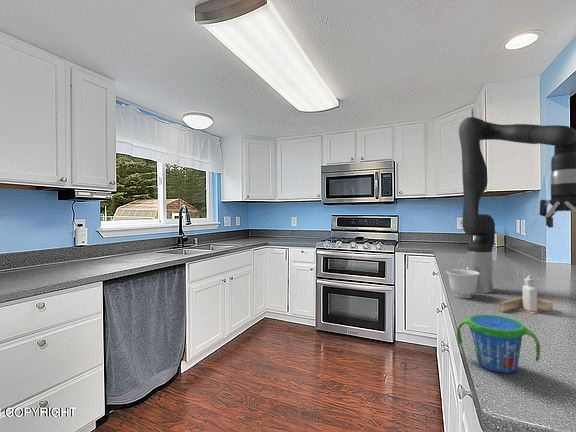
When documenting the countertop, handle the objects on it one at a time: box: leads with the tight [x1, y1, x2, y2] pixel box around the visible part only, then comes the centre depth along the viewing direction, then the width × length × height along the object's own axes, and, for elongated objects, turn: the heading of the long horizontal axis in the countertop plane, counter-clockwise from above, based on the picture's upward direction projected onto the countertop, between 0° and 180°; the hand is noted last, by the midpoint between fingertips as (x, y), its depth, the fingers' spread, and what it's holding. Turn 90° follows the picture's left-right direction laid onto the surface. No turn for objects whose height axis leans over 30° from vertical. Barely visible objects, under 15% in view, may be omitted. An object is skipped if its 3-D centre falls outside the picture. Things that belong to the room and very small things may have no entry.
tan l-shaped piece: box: [498, 295, 554, 315], centre depth 104 cm, size 9×16×3 cm, turn 117°
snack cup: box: [456, 314, 541, 374], centre depth 69 cm, size 16×10×10 cm
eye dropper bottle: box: [521, 274, 538, 312], centre depth 105 cm, size 4×6×12 cm
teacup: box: [445, 268, 480, 299], centre depth 125 cm, size 12×15×10 cm
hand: (565, 227), depth 108 cm, fingers open, 8 cm apart
